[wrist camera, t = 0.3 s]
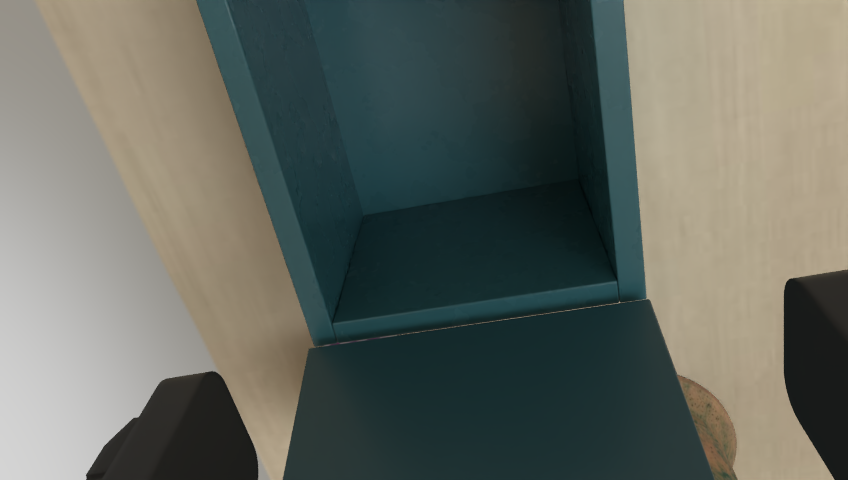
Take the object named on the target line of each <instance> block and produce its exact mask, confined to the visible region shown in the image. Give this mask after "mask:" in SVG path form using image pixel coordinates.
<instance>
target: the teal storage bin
mask: <svg viewBox="0 0 848 480" xmlns="http://www.w3.org/2000/svg"><path fill="white" fill-rule="evenodd" d="M196 1H197V4H198V7H199V10H200V13H201V16H202V19H203V22H204V25H205V28H206V31H207V34H208V36H209V39H210V42H211V45H212V48H213V51H214V54H215V57H216V60H217V63H218V66H219V69H220V72H221V75H222V77H223V80H224V83H225V86H226V89H227V92H228V95H229V98H230V101H231V104H232V107H233V110H234V113H235V115H236V118H237V121H238V124H239V127H240V130H241V133H242V136H243V139H244V142H245V145H246V148H247V151H248V153H249V156H250V159H251V162H252V165H253V168H254V171H255V174H256V177H257V180H258V183H259V186H260V189H261V192H262V194H263V197H264V200H265V203H266V206H267V209H268V212H269V215H270V218H271V221H272V224H273V227H274V230H275V232H276V235H277V238H278V241H279V244H280V247H281V250H282V253H283V256H284V259H285V262H286V265H287V268H288V270H289V273H290V276H291V279H292V282H293V285H294V288H295V291H296V294H297V297H298V300H299V303H300V306H301V309H302V311H303V314H304V317H305V320H306V323H307V326H308V329H309V332H310V335H311V338H312V341H313V344H314V346H315V347H317V346H324V345H331V344H336V343H345V342H352V341H359V340H366V339H373V338H380V337H386V336H393V335H400V334H407V333H414V332H421V331H428V330H435V329H441V328H448V327H455V326H462V325H469V324H476V323H483V322H490V321H496V320H503V319H510V318H517V317H524V316H531V315H538V314H545V313H551V312H558V311H565V310H572V309H579V308H586V307H593V306H600V305H606V304H613V303H618V302H619V301H620V302H621V303H622V302H629V301H636V300H642V299H646V285H645V272H644V259H643V246H642V233H641V221H640V208H639V195H638V182H637V169H636V156H635V143H634V131H633V118H632V105H631V92H630V79H629V66H628V54H627V41H626V28H625V15H624V2H623V0H196Z"/></svg>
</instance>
